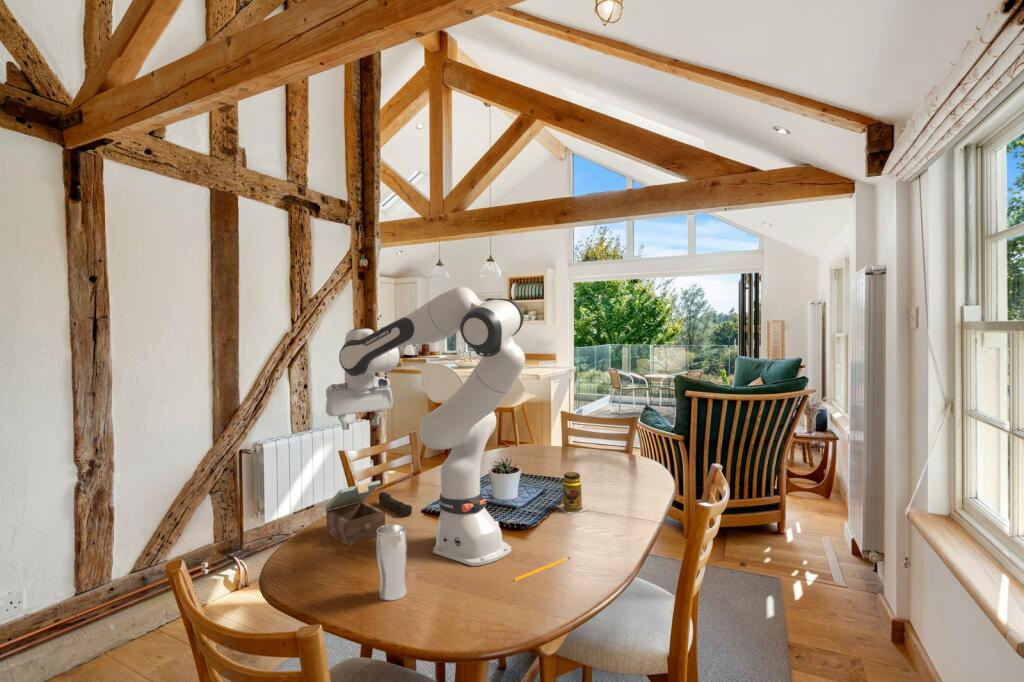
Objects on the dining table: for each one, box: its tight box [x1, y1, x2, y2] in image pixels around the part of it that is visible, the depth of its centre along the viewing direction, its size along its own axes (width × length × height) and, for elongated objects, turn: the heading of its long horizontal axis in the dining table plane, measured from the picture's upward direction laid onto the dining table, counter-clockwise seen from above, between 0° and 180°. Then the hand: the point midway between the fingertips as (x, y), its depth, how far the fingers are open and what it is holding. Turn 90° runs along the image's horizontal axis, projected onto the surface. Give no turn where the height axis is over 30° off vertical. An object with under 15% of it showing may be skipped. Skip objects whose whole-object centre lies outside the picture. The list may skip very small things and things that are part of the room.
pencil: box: [513, 556, 571, 582], centre depth 126 cm, size 1×18×1 cm, turn 127°
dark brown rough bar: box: [378, 491, 413, 518], centre depth 171 cm, size 19×4×5 cm, turn 40°
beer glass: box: [375, 523, 408, 602], centre depth 115 cm, size 7×7×15 cm
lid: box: [324, 480, 381, 512], centre depth 152 cm, size 15×12×3 cm
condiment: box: [556, 471, 587, 515], centre depth 168 cm, size 7×8×12 cm
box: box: [325, 500, 386, 546], centre depth 151 cm, size 15×12×6 cm
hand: (360, 427), depth 152 cm, fingers open, 8 cm apart
